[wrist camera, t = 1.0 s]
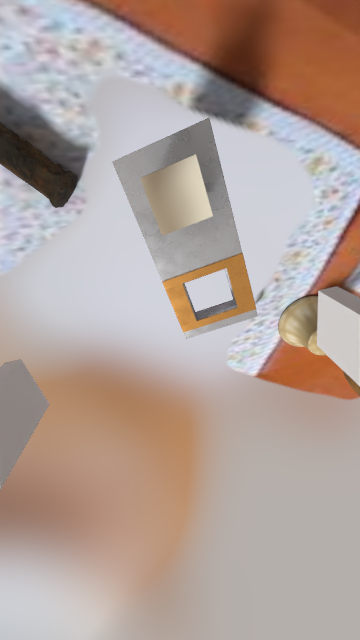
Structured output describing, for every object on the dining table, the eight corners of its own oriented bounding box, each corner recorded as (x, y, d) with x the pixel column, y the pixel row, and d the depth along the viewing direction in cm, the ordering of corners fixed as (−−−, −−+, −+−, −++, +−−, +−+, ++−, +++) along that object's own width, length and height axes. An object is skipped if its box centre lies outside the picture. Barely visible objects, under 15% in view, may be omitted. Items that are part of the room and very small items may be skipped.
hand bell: (345, 324, 36) (453, 410, 22) (294, 354, 38) (362, 449, 24) (320, 283, 33) (428, 353, 19) (267, 318, 35) (327, 403, 21)
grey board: (206, 124, 25) (209, 117, 22) (252, 308, 35) (258, 316, 32) (117, 164, 26) (111, 161, 24) (185, 329, 36) (186, 339, 34)
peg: (188, 168, 27) (195, 154, 16) (199, 206, 28) (213, 216, 18) (154, 183, 27) (140, 178, 17) (167, 219, 29) (162, 236, 18)
